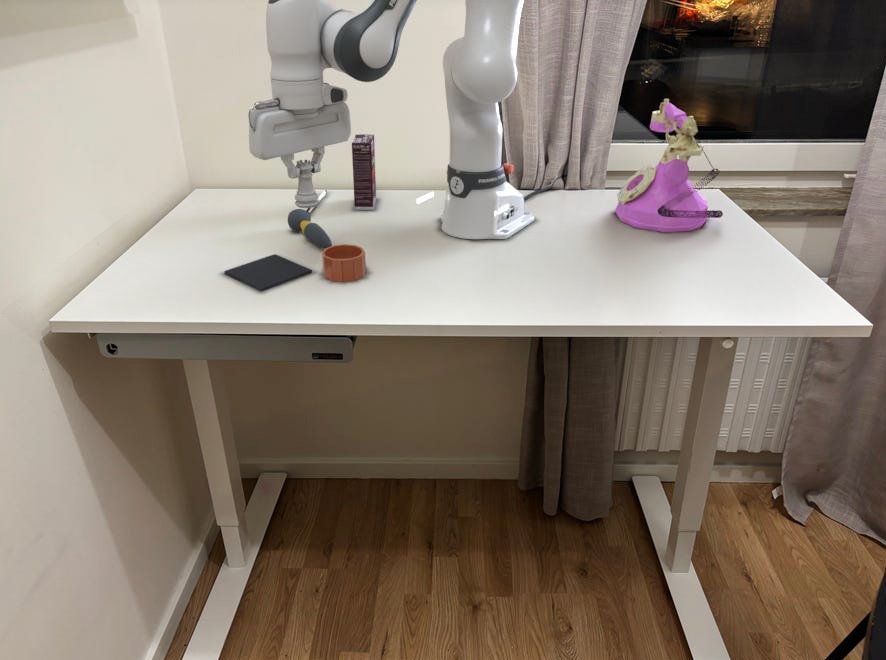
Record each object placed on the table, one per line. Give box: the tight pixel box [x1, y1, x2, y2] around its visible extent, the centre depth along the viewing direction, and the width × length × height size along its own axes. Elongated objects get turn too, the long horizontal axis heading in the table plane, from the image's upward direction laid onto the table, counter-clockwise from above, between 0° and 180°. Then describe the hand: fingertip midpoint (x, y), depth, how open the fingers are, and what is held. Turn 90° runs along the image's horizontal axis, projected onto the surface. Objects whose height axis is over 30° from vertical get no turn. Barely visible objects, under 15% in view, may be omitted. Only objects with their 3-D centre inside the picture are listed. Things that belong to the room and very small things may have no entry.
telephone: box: [615, 98, 724, 233], centre depth 162 cm, size 36×22×25 cm, turn 178°
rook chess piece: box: [294, 159, 320, 209], centre depth 135 cm, size 4×4×8 cm
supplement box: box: [351, 133, 377, 211], centre depth 177 cm, size 9×5×16 cm, turn 179°
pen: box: [305, 189, 328, 215], centre depth 181 cm, size 1×19×1 cm, turn 172°
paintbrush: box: [287, 208, 333, 250], centre depth 160 cm, size 20×5×5 cm, turn 38°
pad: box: [224, 253, 313, 292], centre depth 145 cm, size 12×12×1 cm
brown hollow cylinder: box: [321, 243, 367, 283], centre depth 143 cm, size 8×8×4 cm
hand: (304, 174), depth 135 cm, fingers closed on rook chess piece, 3 cm apart
